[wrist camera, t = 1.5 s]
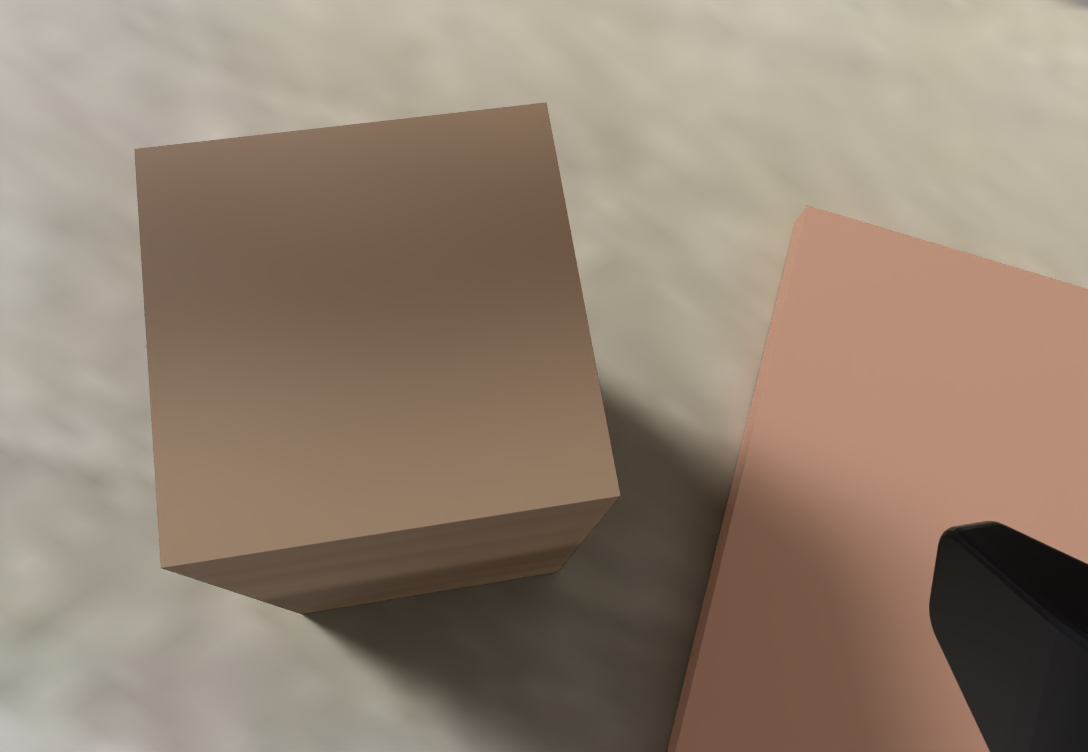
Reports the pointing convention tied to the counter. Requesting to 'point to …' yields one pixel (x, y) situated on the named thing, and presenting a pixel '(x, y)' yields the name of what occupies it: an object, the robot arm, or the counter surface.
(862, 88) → the counter surface
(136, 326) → the counter surface
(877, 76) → the counter surface
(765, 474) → the terracotta mat
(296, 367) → the walnut block
